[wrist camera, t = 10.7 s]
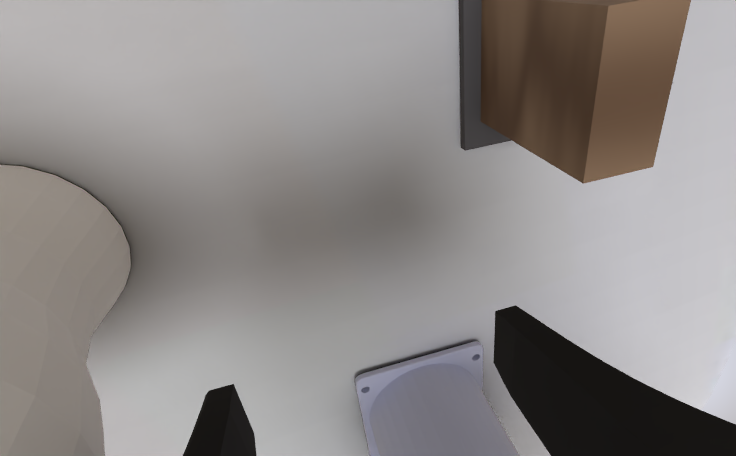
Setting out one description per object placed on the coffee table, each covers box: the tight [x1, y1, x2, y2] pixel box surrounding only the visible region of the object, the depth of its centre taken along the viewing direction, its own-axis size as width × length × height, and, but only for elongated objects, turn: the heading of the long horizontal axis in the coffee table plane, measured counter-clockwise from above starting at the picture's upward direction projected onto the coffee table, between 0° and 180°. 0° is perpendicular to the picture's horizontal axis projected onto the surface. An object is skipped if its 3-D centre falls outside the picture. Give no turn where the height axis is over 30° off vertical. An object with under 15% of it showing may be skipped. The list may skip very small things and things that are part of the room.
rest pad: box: [459, 0, 511, 150], centre depth 19 cm, size 7×4×1 cm, turn 8°
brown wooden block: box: [481, 0, 691, 183], centre depth 16 cm, size 5×2×7 cm, turn 8°
